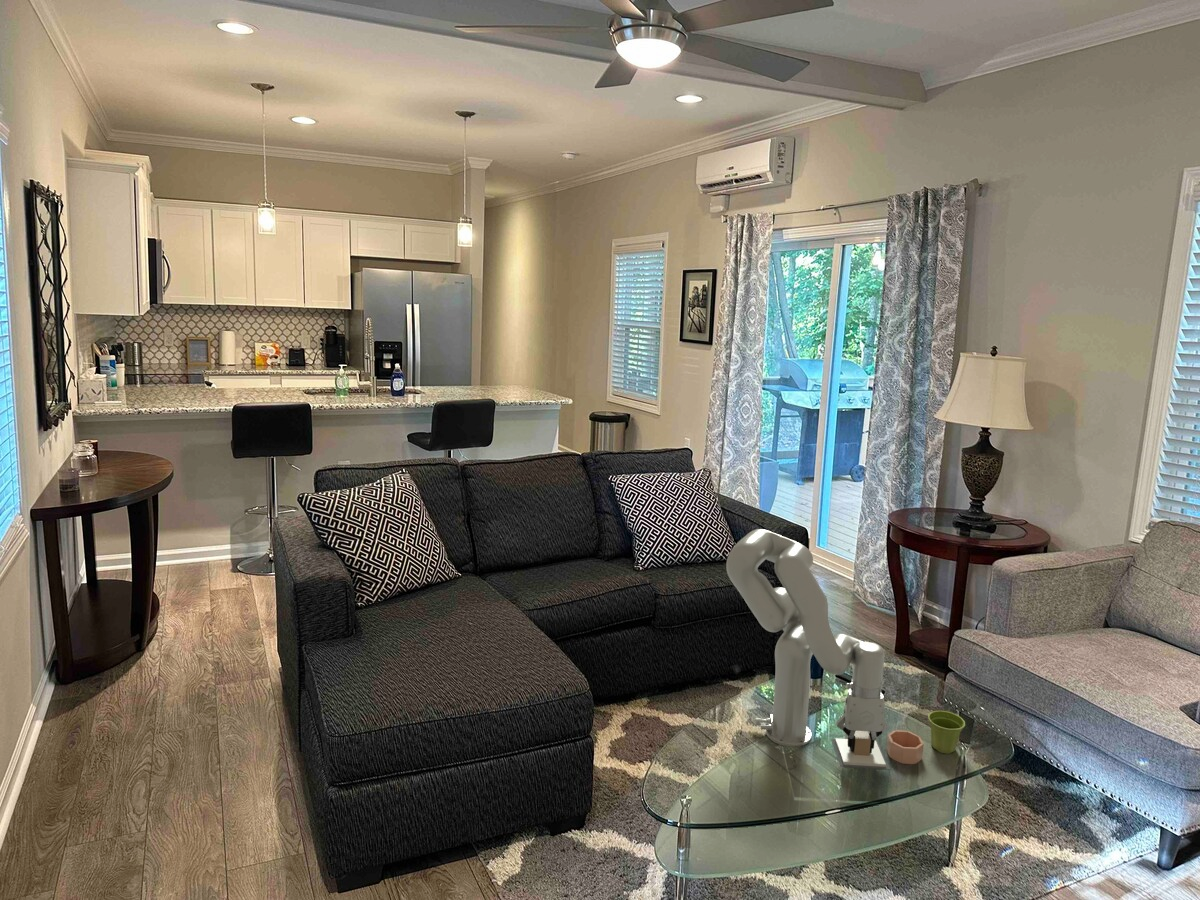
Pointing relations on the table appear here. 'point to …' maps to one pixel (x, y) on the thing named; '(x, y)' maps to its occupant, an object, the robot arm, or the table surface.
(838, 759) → the mat
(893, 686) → the table surface
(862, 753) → the lid
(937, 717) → the plant pot
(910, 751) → the bowl
